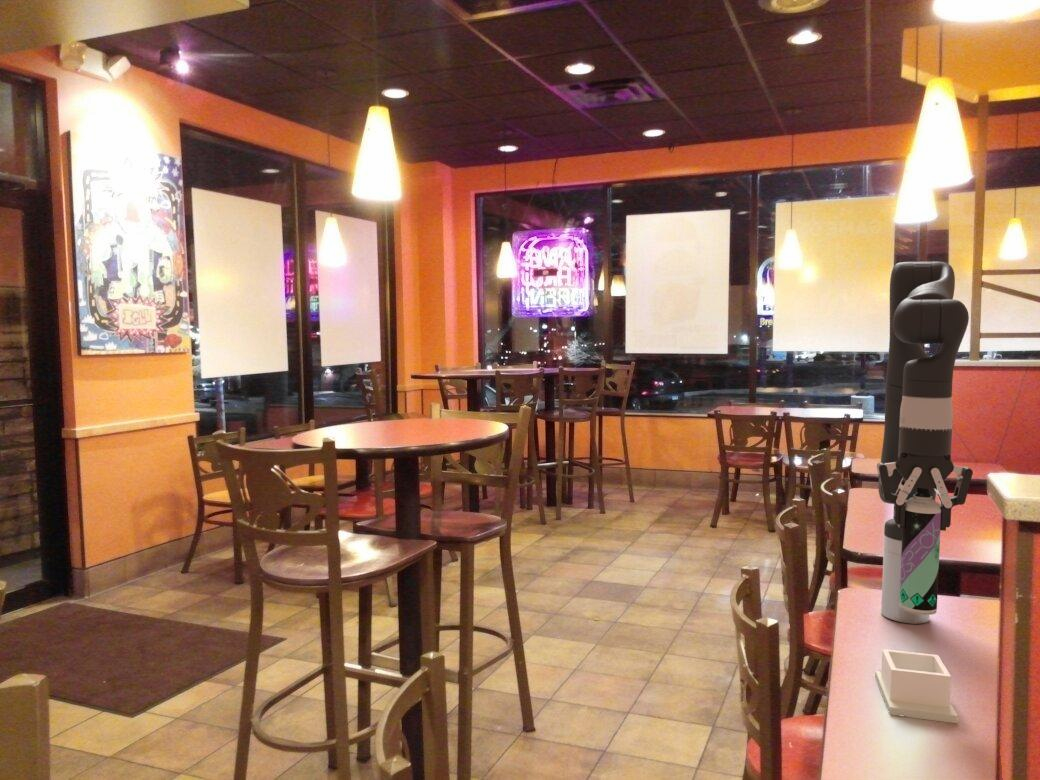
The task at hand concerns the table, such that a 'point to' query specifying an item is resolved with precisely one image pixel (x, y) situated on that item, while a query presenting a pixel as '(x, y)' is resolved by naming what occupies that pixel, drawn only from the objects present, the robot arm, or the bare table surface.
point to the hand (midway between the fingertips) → (921, 527)
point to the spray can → (920, 554)
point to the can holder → (916, 685)
